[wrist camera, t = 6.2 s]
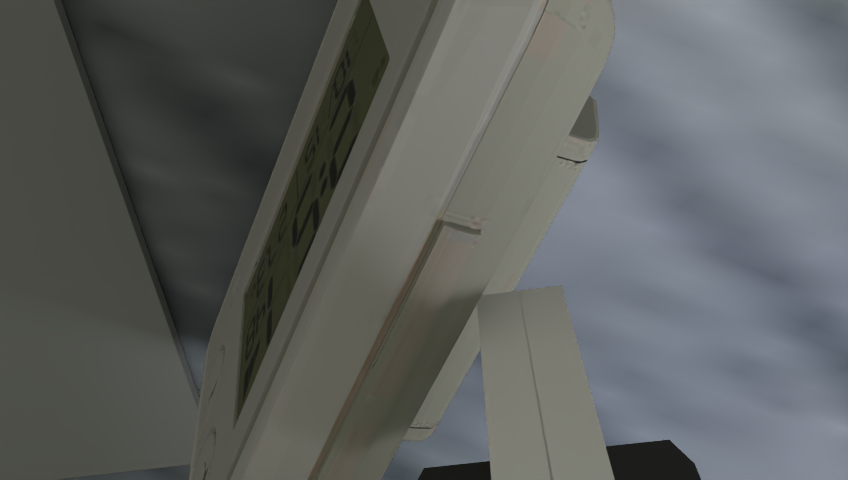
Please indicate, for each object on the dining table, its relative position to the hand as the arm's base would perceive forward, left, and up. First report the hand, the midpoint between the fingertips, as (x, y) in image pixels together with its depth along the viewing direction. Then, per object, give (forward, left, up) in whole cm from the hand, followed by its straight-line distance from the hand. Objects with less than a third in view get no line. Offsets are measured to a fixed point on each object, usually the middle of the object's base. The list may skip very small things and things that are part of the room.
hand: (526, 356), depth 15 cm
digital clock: (+3, 0, -9) cm, 10 cm away
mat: (+16, 0, -10) cm, 18 cm away
